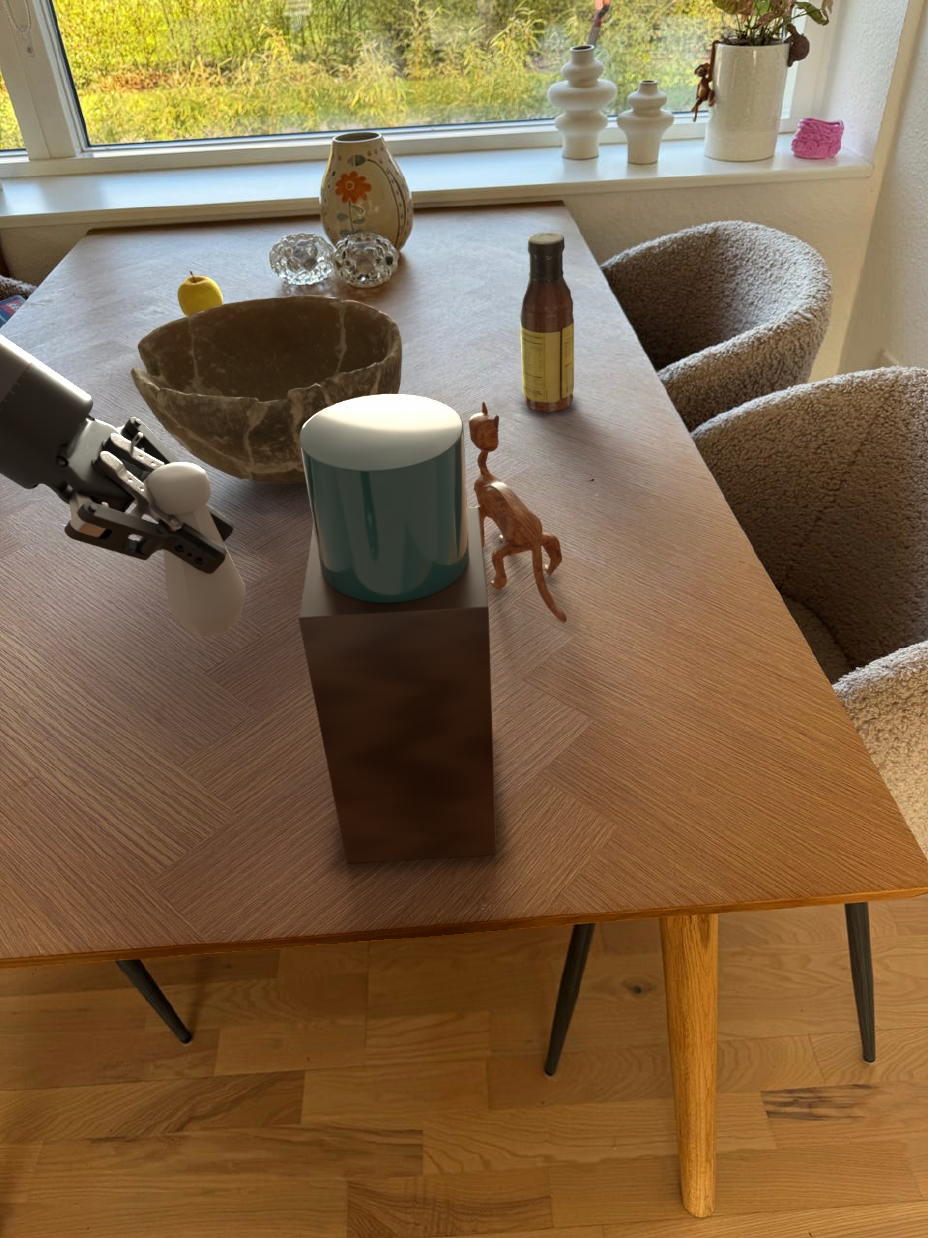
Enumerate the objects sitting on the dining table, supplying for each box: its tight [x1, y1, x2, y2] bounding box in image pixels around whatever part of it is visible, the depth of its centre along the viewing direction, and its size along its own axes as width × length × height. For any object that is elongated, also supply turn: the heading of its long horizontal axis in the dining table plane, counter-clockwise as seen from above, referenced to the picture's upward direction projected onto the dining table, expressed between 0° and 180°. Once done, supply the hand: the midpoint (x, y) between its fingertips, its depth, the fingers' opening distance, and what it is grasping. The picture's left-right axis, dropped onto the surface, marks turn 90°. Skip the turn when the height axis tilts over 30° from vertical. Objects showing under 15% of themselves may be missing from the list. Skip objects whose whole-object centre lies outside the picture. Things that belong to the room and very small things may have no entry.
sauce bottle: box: [519, 231, 575, 414], centre depth 107 cm, size 6×6×20 cm
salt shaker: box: [146, 461, 247, 638], centre depth 67 cm, size 6×6×13 cm
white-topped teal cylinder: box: [299, 393, 469, 603], centre depth 51 cm, size 11×8×8 cm
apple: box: [177, 270, 224, 317], centre depth 135 cm, size 6×6×8 cm
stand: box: [297, 506, 497, 864], centre depth 59 cm, size 10×10×21 cm
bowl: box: [130, 294, 403, 485], centre depth 99 cm, size 28×27×15 cm
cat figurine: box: [468, 401, 568, 623], centre depth 81 cm, size 18×7×14 cm, turn 24°
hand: (222, 548), depth 67 cm, fingers closed on salt shaker, 3 cm apart
